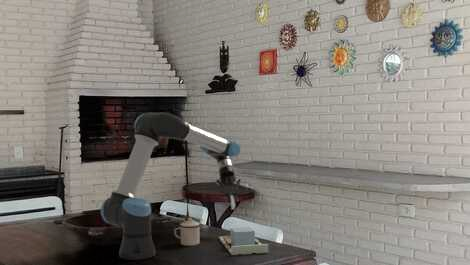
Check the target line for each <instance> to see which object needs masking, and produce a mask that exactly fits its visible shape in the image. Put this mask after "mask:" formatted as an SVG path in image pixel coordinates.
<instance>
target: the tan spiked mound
mask: <svg viewBox="0 0 470 265" xmlns="http://www.w3.org/2000/svg"><path fill="white" fill-rule="evenodd" d="M188 218H191V217H190V214H189V204H188V203H187V204H186V215H185V219H184V220H183V221H184V222H185V221H187V220H188ZM200 227H203V224H200V226H199V228H200Z"/></svg>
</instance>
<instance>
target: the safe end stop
mask: <svg viewBox="0 0 470 265" xmlns="http://www.w3.org/2000/svg"><path fill="white" fill-rule="evenodd" d="M230 248H231V254H230V255H231V256H240V255H239V254H241V255H252V253H256V254H265V253H266V254H268V253H269V244H268V243H261V244H255V245H242V246H232V245H231V246H230Z"/></svg>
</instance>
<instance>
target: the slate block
mask: <svg viewBox="0 0 470 265" xmlns="http://www.w3.org/2000/svg"><path fill="white" fill-rule="evenodd" d="M229 229H230V235H229V236H230V238H231V243H230V245H231V246H242V245H256V243H255V238H256V236H255V234H256V233H255V230H254V229H253V228H252V227H250V226H242V227H241V226H240V227H230V228H229Z"/></svg>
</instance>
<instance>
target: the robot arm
mask: <svg viewBox="0 0 470 265" xmlns="http://www.w3.org/2000/svg"><path fill="white" fill-rule="evenodd" d="M133 124H134V125H133V129H134V138H135V143H134V145H133V148H132V151H131V153H130V156H129V158H128V160H127V163H126V165H125V168H124V171H123V173H122V175H121V179H120V181H119V183H118V186H117V188H116V189H115V190H112V192H111V194H110V197H108V198H107V199H104V201H103V202H102V203H101V207H100V215H101V217H102V220H103V221H104V222H105V223H107V224H109V225H111V226H113V227H114V226H115V227H118V228H119V227H120V228H122V241H121V244H120V248H119V251H118V257H119V258H121V259H124V260H129V261H130V260H131V261H133V260H134V261H137V260H144V259H150V258H153V257H154V256H156V246H155V243H154V241H153V238H152V206H151V203H150V201H149V200H147V199H145V198H141V197H140V198H138V197H136V196H137V192H138V190H139V188H140V185H141V182H142V179H143V177H144V174H145V172H146V170H147V166H148V164H149V161H150V158H151V155H152V153H153V150H154V148H155V147H158V146H159V145H160V141H161V139H173V140H178V141H180V142H181V141H187V142H189V143H192V144H194V145H197V146H199V148H200V150H202V151H203V152H204V153H205V154H207V155H208V156H210V157H212V158H213V159H215V160H216V162H217V168H218V171H219V172H218V173H219V178H218V179H216V182H215V184H216V185H217V186H218V189H219V191H220V192H221V195H222V196H223V197H224V198H226V199H227V203H229V204H230V207H231V208H230V209H231V210H235V209H236V202H237V199H236V198H237V197H238V196H239V191H240V184H241V181H242V180H241V178H237V177H236V176H235V170H234V167H233V161H232V157H237V156H239V155H240V154H241V144H240V143H239V142H237V141H234V140H228V139H226V138H223V137H221V136H219V135H216V134H214V133H211V132H208V131H206V130H204V129H201V128H199V127H196V126H194V125H192V124H190V122H189V121H188V120H186V119H184V118H181V117H179V116H177V115H174V114H172V113H169V112H145V113H141V114H140V115H138V116H137V117H136V119H135V121H134V123H133ZM234 184H235V185H236V187H234ZM223 185H224V186H223Z"/></svg>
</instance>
